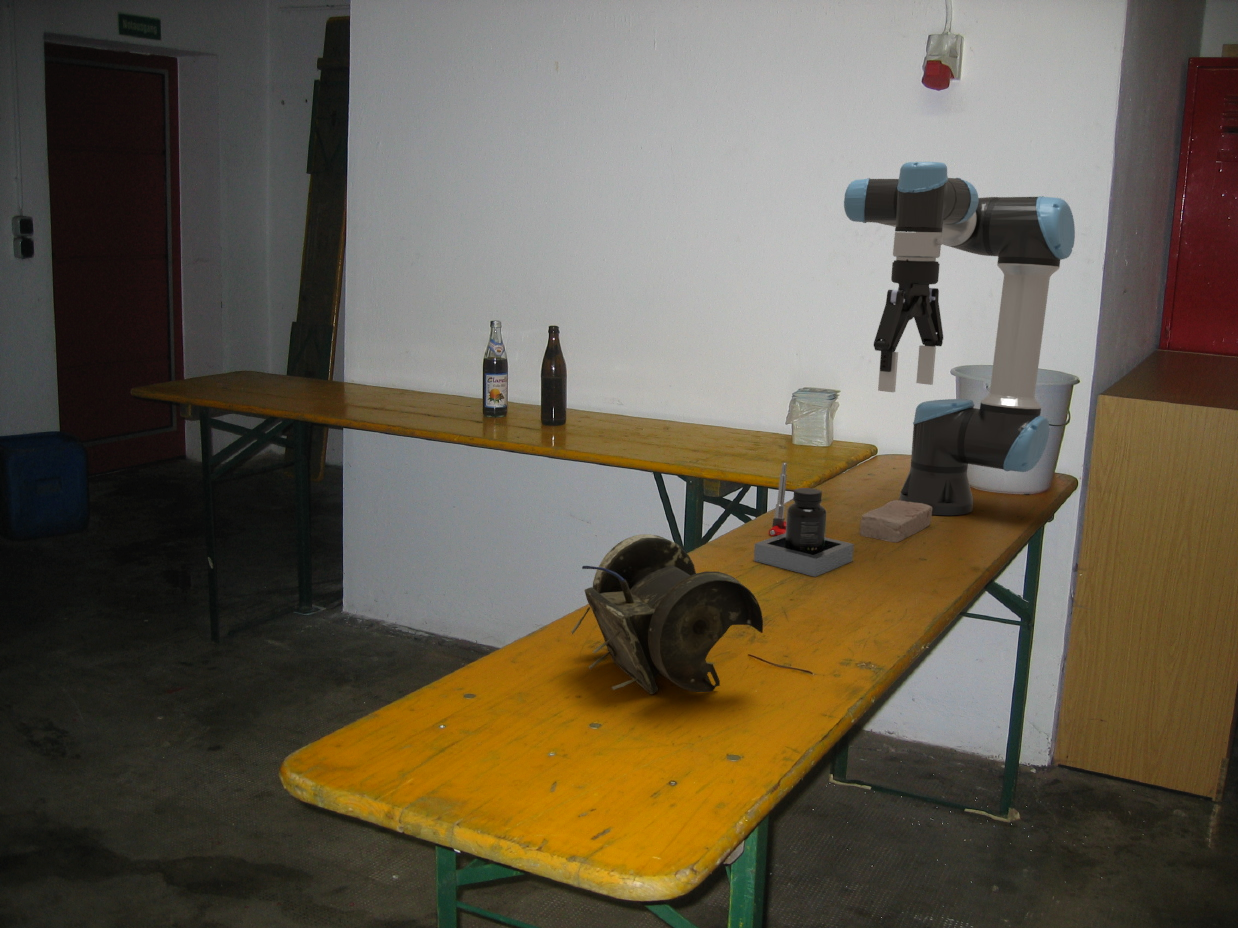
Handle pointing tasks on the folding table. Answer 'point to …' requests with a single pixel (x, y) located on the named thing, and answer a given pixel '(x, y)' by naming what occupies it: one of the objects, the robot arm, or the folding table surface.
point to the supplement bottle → (806, 522)
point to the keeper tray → (803, 556)
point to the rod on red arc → (780, 506)
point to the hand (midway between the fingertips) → (906, 387)
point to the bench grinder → (664, 612)
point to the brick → (895, 520)
